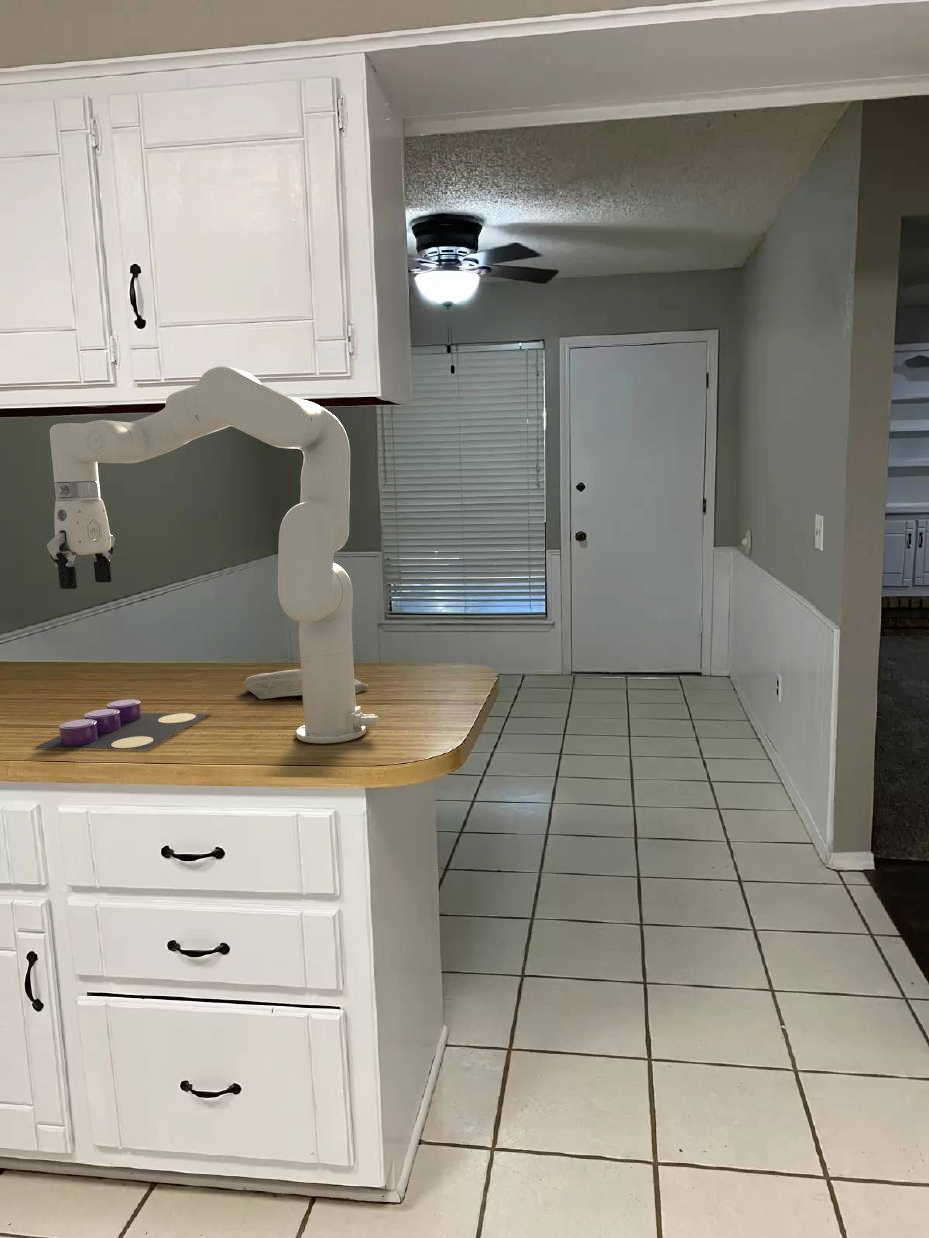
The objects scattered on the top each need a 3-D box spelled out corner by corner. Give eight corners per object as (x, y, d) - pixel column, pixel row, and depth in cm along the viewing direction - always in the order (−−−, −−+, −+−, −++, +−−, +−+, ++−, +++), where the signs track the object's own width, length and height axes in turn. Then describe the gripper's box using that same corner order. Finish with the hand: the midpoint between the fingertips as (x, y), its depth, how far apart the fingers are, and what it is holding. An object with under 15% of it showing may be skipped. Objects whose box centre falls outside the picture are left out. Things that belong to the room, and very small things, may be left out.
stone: (225, 679, 197) (265, 667, 211) (231, 712, 198) (270, 697, 211) (333, 668, 186) (367, 655, 200) (338, 702, 187) (373, 687, 201)
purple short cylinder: (105, 735, 168) (103, 718, 168) (85, 746, 162) (83, 728, 162) (74, 735, 169) (72, 718, 169) (53, 745, 163) (51, 727, 163)
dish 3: (148, 714, 183) (146, 698, 182) (130, 723, 177) (129, 706, 176) (119, 714, 184) (117, 698, 184) (101, 722, 178) (99, 706, 177)
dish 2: (127, 724, 176) (125, 708, 175) (108, 734, 169) (107, 717, 169) (97, 724, 177) (96, 708, 176) (78, 733, 171) (76, 716, 170)
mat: (209, 715, 182) (209, 713, 182) (146, 751, 159) (146, 748, 158) (110, 714, 186) (110, 712, 186) (35, 749, 163) (35, 746, 163)
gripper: (62, 493, 155) (72, 591, 158) (124, 491, 172) (132, 580, 175) (26, 494, 157) (36, 591, 160) (91, 492, 174) (99, 580, 177)
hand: (86, 585), depth 167 cm, fingers open, 9 cm apart
